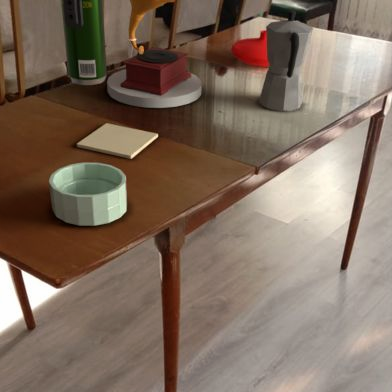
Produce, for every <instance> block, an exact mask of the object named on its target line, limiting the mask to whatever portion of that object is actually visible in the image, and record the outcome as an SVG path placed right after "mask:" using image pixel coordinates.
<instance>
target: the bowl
mask: <svg viewBox="0 0 392 392" xmlns="http://www.w3.org/2000/svg"><path fill="white" fill-rule="evenodd" d="M48 185H49V193H50V201H51V208H52V212H53V213H54V215H55V217H56V218H58V219H59V220H61V221H63V222H64V223H66V224H70V225H75V226H86V227H87V226H90V227H91V226H92V227H94V226H101V225H105V224H110V223H111V222H114V221H116V220H118V219H120V218H122V216H124V214H125V213H126V212H127V210H128V209H127V208H128V195H127V194H128V193H127V176H126V174H125V173H124V171H122V170H121V169H120V168H118V167H116V166H114V165H111V164H107V163H101V162H78V163H72V164H68V165H66V166H62V167H60V168H58V169H56V170H55V171H54V172H53V173H51V175H50V177H49V180H48Z"/></svg>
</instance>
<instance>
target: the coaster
mask: <svg viewBox="0 0 392 392" xmlns="http://www.w3.org/2000/svg"><path fill="white" fill-rule="evenodd" d="M158 137H159V133H156V132H151V131H146V130H141V129H137V128H131V127H128V126H123V125H118V124H113V123H107V122H106V123H104V124H103V125H102V126H100V127H98V128H97V129H96V130H95V131H92V133H90V134H89V135H87V136H86V137H84V138H83V139H81V140H80V141H78V142H77V143H76V147H77V148H81V149H85V150H88V151H94V152H98V153H103V154H107V155H112V156H116V157H121V158H124V159H125V158H126V159H128V160H129V159H130V160H132V159H133V158H135V157H136V156H137V155H138V154H139V153H140V152H141V151H143V150H144V149H145V148H147V146H149V145H150V144H152V142H153V141H155V140H156V139H157V138H158Z"/></svg>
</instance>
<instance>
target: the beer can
mask: <svg viewBox="0 0 392 392" xmlns="http://www.w3.org/2000/svg"><path fill="white" fill-rule="evenodd" d="M60 6H61V13H62V14H61V16H62V25H63V36H64V47H65V55H66V56H65V57H66V66H67V75H68V77H69V80H70V81H71V83H74V84H77V85H82V86H93V85H98V84H102V83H104V82H105V80H106V78H107V76H108V71H107V70H108V69H107V52H106V51H107V50H106V37H105V36H106V35H105V34H106V33H105V19H104V18H105V16H104V2H103V0H82V10H83V23H84V24H83V26H82V27H81V28H70V27H67V26H66V23H65V13H64V3H63V0H60Z"/></svg>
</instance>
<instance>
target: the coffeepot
mask: <svg viewBox="0 0 392 392" xmlns="http://www.w3.org/2000/svg"><path fill="white" fill-rule="evenodd" d="M296 14H297V11H296V10H293V9H290V10H287V19H280V20H277V21H271V22H269V23H268V24H267V25H266V26H265V30H266V36H267V61H268V62H269V67H267V68H268V69H267V71H266V73H265V77H264V80H263V84H262V89H261V92H260V95H259V100H258V102H259V104H260V105H261V106H262V107H263V108H265V109H268V110H271V111H275V112H276V111H277V112H291V111H296V110H298V109H300V107H301V105H302V104H303V77H302V76H303V74H302V65H303V64H304V62H305V60H306V55H307V52H308V48H309V45H310V42H311V41H310V40H311V39H312V34H313V31H314V27H312V26H310V25H308V24H306V23H304V22H301V21H297V20H295V17H296Z"/></svg>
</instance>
